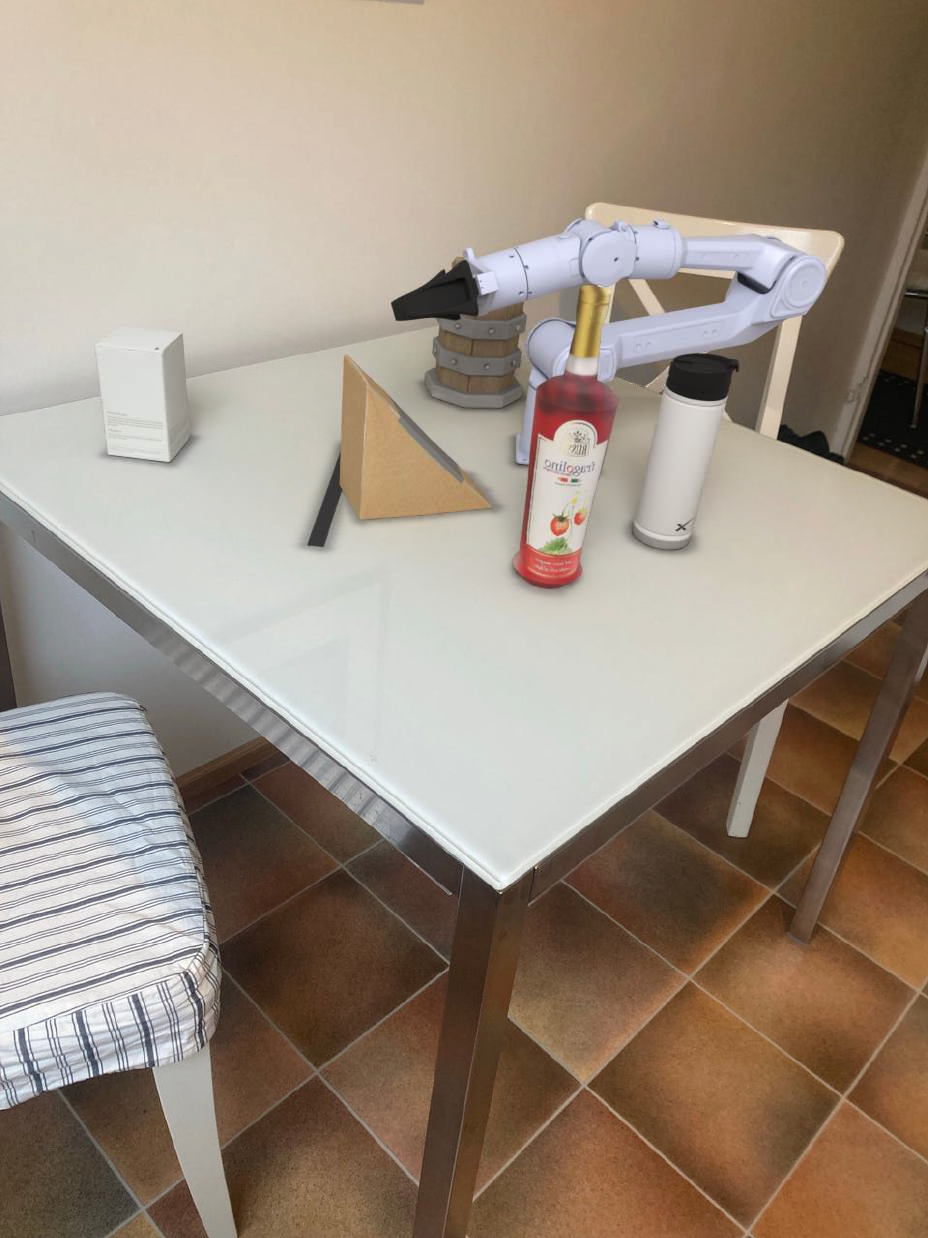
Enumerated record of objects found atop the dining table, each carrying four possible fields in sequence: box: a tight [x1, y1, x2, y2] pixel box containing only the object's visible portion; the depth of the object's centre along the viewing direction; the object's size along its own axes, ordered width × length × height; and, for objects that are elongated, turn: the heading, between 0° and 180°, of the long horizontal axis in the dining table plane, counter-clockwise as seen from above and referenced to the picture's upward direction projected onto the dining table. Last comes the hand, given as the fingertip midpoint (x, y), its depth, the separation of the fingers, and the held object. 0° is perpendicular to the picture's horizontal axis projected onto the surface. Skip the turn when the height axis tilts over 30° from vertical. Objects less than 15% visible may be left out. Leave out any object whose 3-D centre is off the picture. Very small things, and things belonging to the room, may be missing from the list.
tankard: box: [424, 256, 528, 409], centre depth 135 cm, size 20×13×15 cm, turn 13°
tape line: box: [307, 450, 343, 548], centre depth 108 cm, size 2×24×1 cm, turn 178°
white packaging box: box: [93, 324, 191, 463], centre depth 109 cm, size 7×7×13 cm
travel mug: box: [631, 352, 740, 551], centre depth 101 cm, size 6×7×20 cm
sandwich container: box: [340, 354, 493, 521], centre depth 105 cm, size 9×15×15 cm, turn 111°
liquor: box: [512, 285, 619, 589], centre depth 90 cm, size 7×7×28 cm
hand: (399, 309), depth 105 cm, fingers open, 7 cm apart
